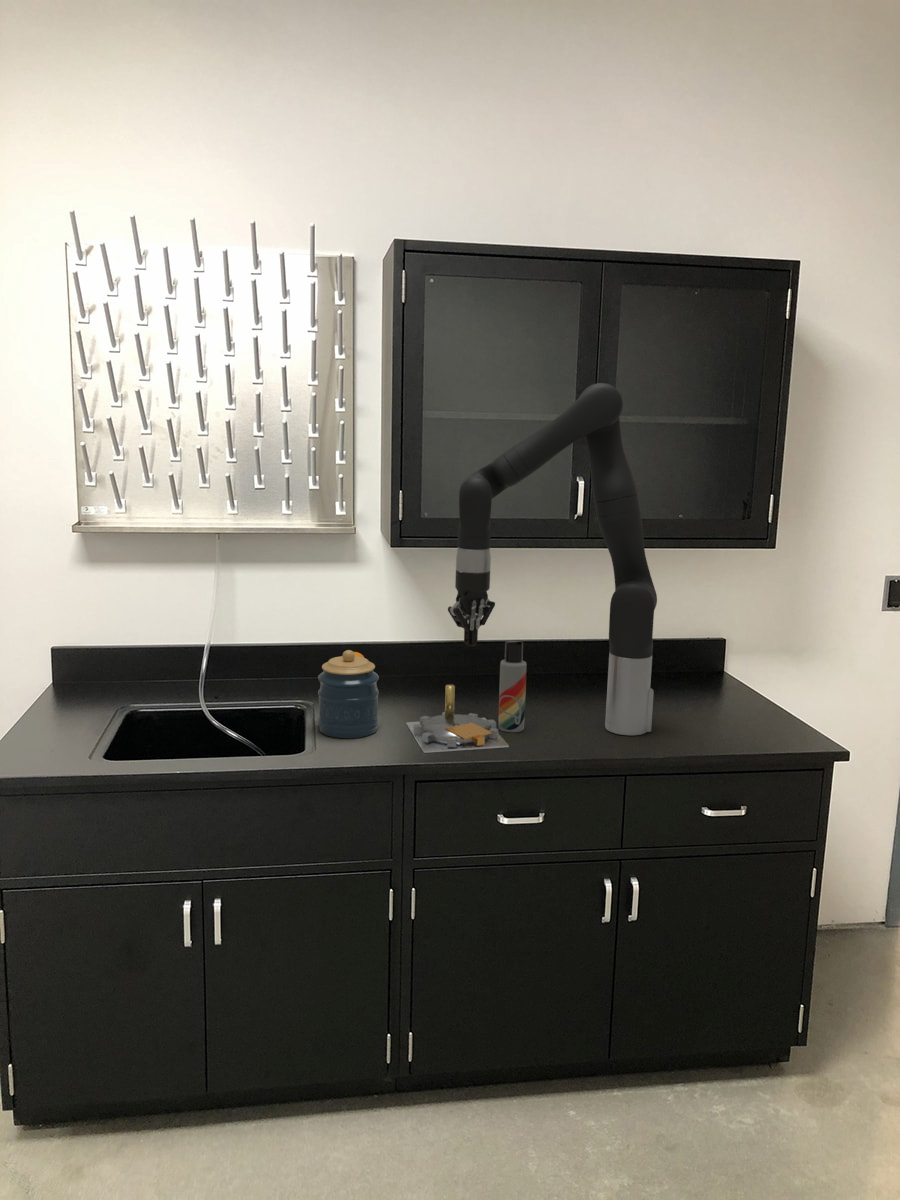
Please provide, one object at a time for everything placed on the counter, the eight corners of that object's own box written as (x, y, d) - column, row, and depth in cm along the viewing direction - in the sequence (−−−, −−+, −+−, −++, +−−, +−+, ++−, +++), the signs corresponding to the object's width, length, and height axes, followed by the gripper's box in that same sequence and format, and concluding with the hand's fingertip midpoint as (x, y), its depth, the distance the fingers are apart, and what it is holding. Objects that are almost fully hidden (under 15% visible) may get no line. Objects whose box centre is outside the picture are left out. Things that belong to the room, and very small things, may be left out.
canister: (310, 737, 198) (310, 656, 194) (327, 717, 210) (327, 641, 207) (371, 741, 196) (371, 659, 192) (384, 721, 208) (384, 644, 205)
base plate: (484, 719, 211) (484, 717, 211) (508, 747, 194) (508, 745, 194) (406, 724, 207) (406, 722, 207) (423, 752, 190) (423, 751, 190)
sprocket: (485, 716, 211) (486, 679, 210) (509, 743, 194) (510, 704, 193) (405, 720, 207) (406, 683, 205) (423, 749, 190) (423, 709, 188)
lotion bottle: (508, 734, 202) (511, 644, 198) (493, 726, 206) (495, 638, 202) (529, 730, 205) (532, 641, 201) (513, 722, 210) (516, 635, 206)
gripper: (482, 563, 211) (479, 637, 214) (439, 568, 202) (437, 646, 205) (506, 567, 205) (503, 644, 209) (463, 573, 196) (461, 653, 200)
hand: (470, 645), depth 207 cm, fingers closed
